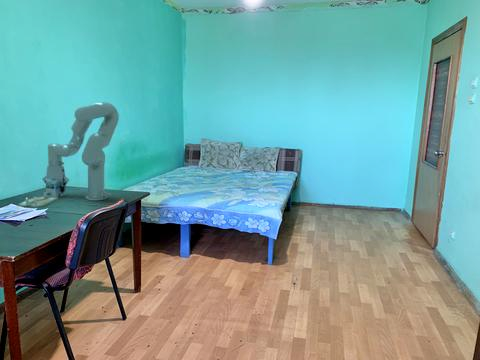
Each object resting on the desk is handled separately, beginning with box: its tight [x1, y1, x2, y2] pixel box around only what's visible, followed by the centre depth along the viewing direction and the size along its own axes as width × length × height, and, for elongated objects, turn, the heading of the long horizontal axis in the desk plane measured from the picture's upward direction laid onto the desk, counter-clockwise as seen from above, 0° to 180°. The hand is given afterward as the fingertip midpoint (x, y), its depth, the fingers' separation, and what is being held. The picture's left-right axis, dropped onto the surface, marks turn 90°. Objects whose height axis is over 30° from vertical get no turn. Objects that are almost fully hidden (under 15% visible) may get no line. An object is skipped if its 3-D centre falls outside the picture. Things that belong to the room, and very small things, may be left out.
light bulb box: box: [45, 179, 67, 199], centre depth 230 cm, size 11×7×11 cm, turn 171°
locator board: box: [17, 196, 59, 208], centre depth 214 cm, size 14×18×1 cm
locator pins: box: [25, 191, 47, 205], centre depth 213 cm, size 6×16×4 cm, turn 0°
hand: (56, 191), depth 230 cm, fingers closed on light bulb box, 7 cm apart
